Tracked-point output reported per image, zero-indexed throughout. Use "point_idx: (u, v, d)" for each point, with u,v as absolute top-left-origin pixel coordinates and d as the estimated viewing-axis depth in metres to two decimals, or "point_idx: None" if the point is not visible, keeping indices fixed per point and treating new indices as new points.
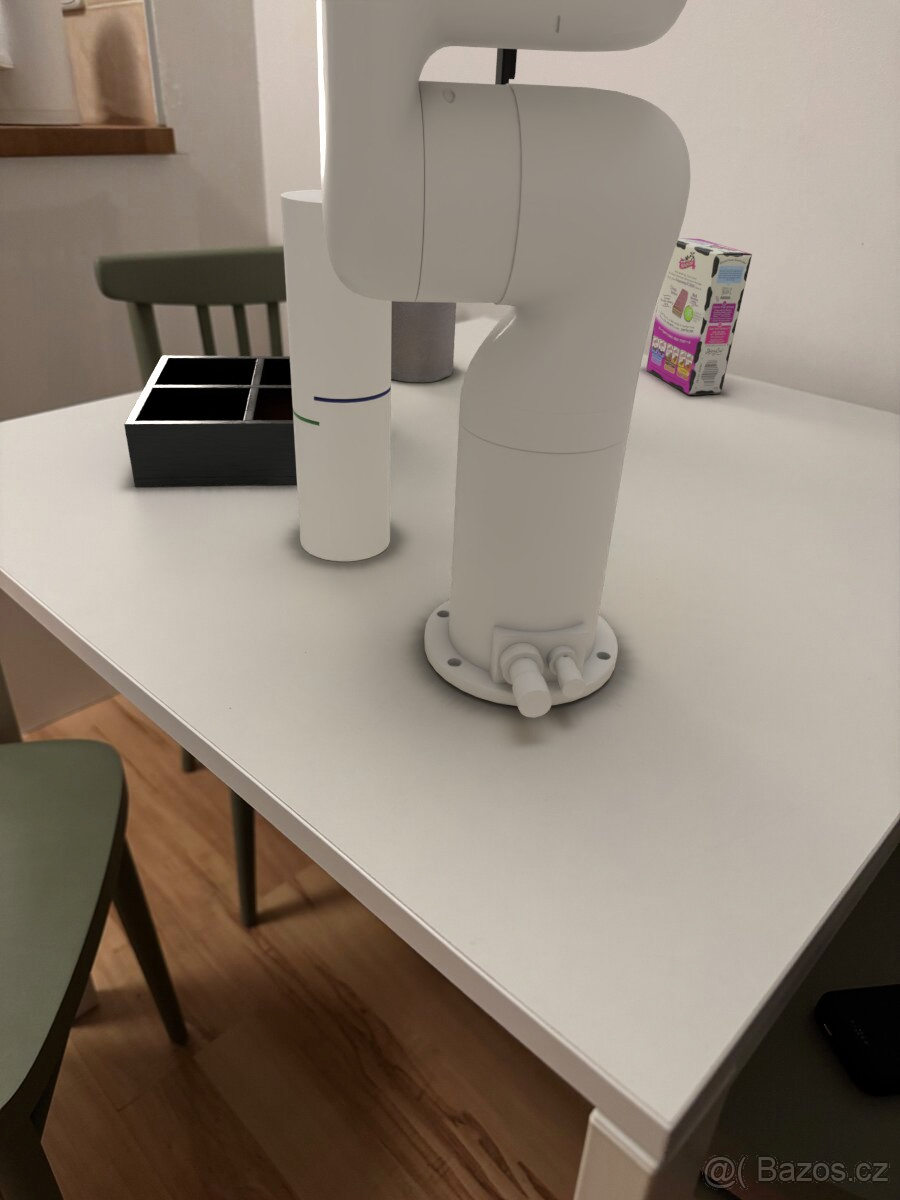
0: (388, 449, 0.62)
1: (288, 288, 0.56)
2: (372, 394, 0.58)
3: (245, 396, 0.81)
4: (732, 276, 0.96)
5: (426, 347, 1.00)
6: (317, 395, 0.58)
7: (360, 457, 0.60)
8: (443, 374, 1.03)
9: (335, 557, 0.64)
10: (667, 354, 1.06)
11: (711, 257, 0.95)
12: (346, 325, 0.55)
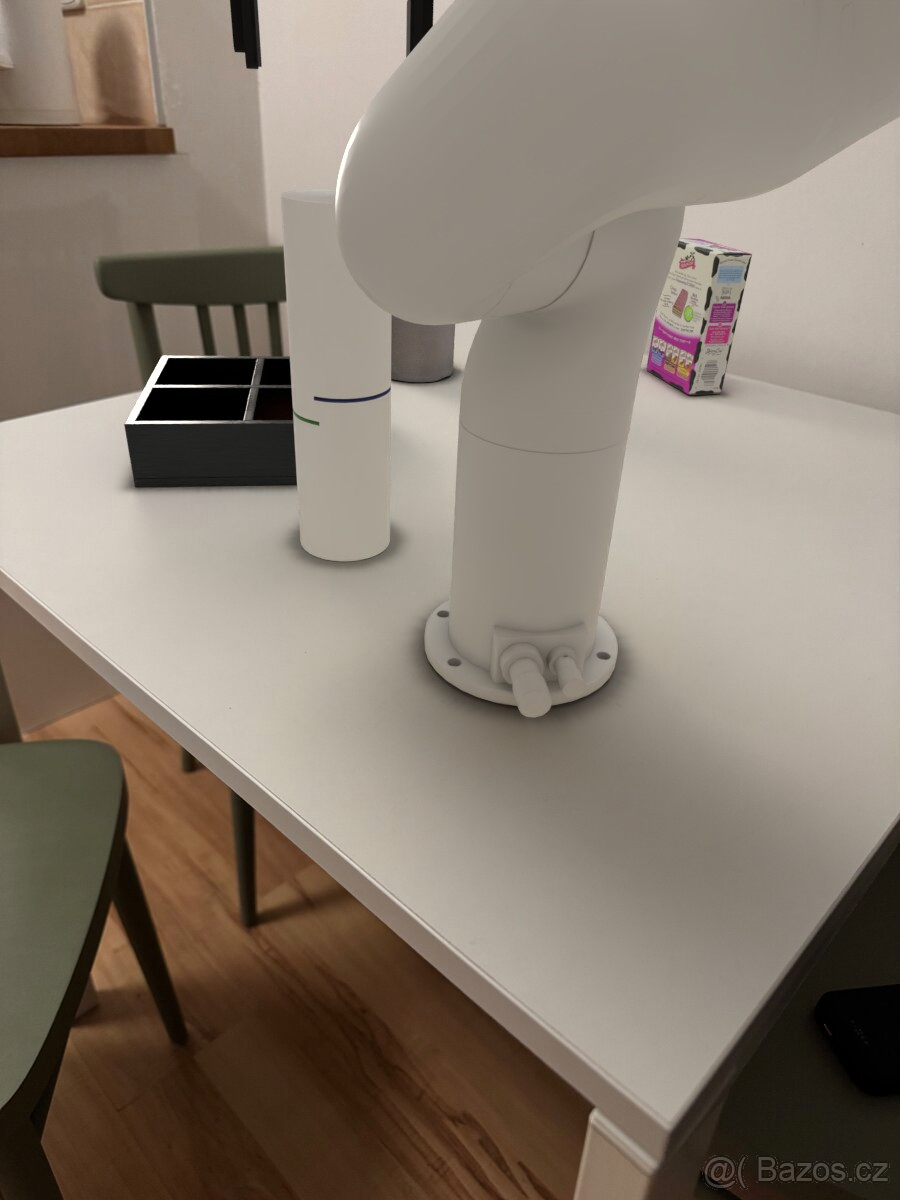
0: (388, 449, 0.62)
1: (288, 288, 0.56)
2: (372, 394, 0.58)
3: (245, 396, 0.81)
4: (732, 276, 0.96)
5: (426, 347, 1.00)
6: (317, 395, 0.58)
7: (360, 457, 0.60)
8: (443, 374, 1.03)
9: (335, 557, 0.64)
10: (667, 354, 1.06)
11: (711, 257, 0.95)
12: (346, 325, 0.55)
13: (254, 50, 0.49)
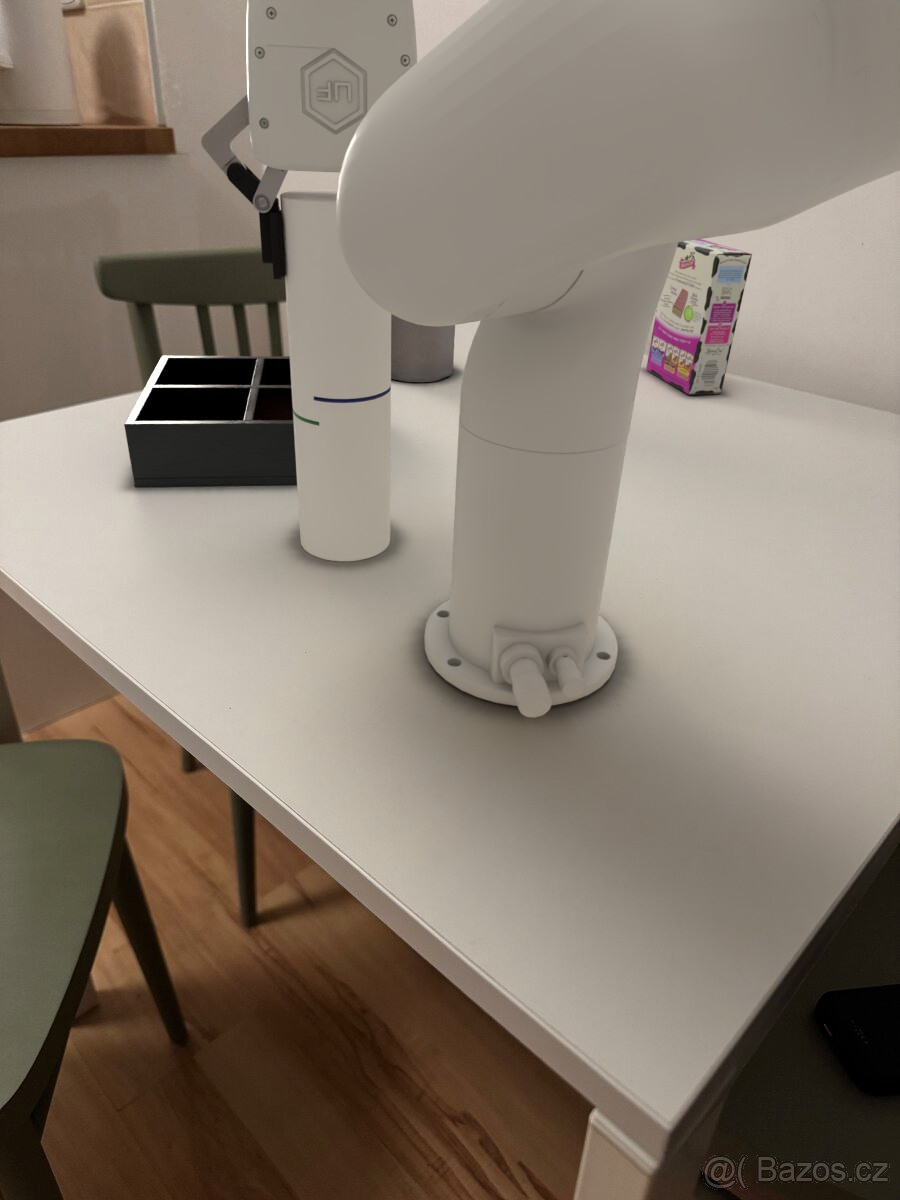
0: (388, 449, 0.62)
1: (288, 288, 0.56)
2: (372, 394, 0.58)
3: (245, 396, 0.81)
4: (732, 276, 0.96)
5: (426, 347, 1.00)
6: (317, 395, 0.58)
7: (360, 457, 0.60)
8: (443, 374, 1.03)
9: (335, 557, 0.64)
10: (667, 354, 1.06)
11: (711, 257, 0.95)
12: (345, 325, 0.55)
13: (281, 265, 0.54)
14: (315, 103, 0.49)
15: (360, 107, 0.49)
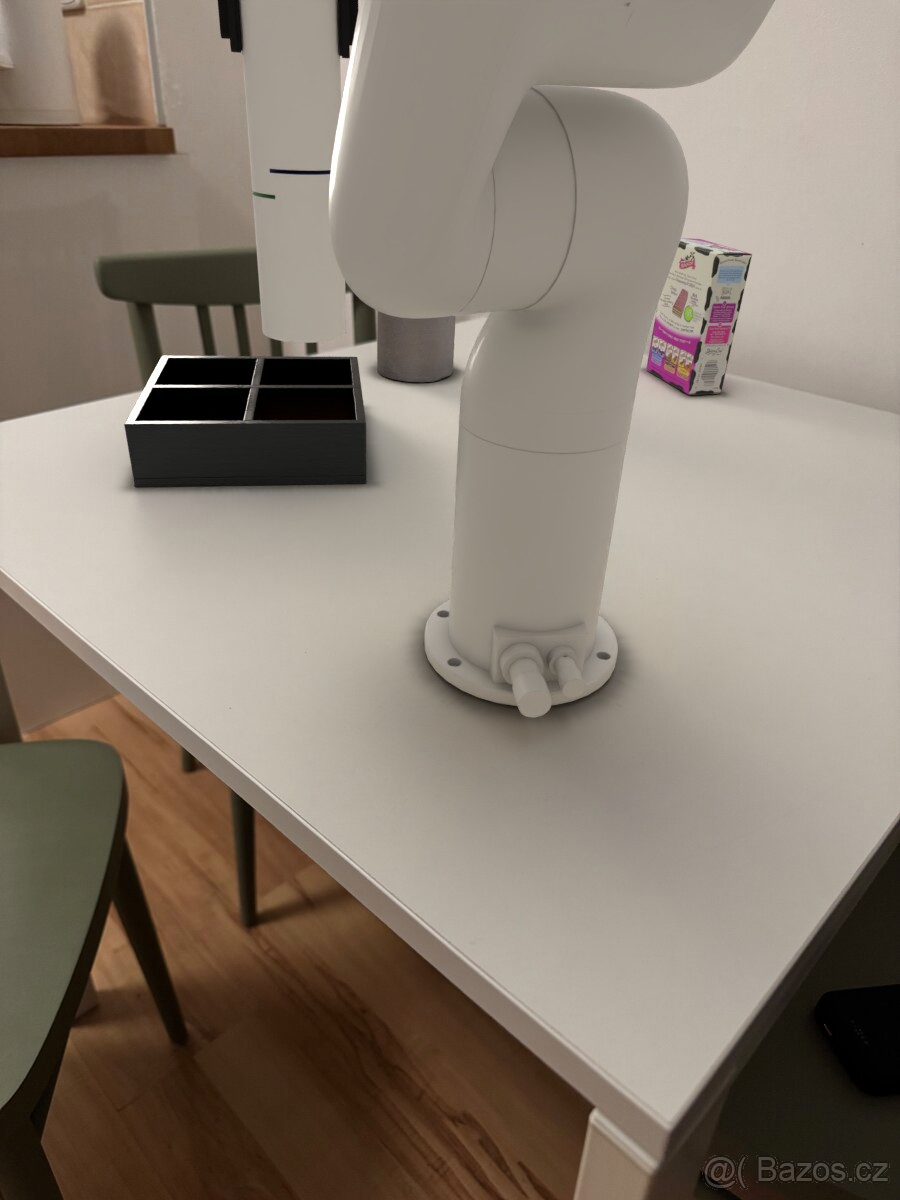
0: None
1: (244, 61, 0.61)
2: (323, 168, 0.63)
3: (245, 396, 0.81)
4: (732, 276, 0.96)
5: (426, 347, 1.00)
6: (272, 167, 0.63)
7: (314, 232, 0.65)
8: (443, 374, 1.03)
9: (293, 338, 0.69)
10: (667, 354, 1.06)
11: (711, 257, 0.95)
12: (296, 93, 0.60)
13: (237, 36, 0.60)
14: None
15: None
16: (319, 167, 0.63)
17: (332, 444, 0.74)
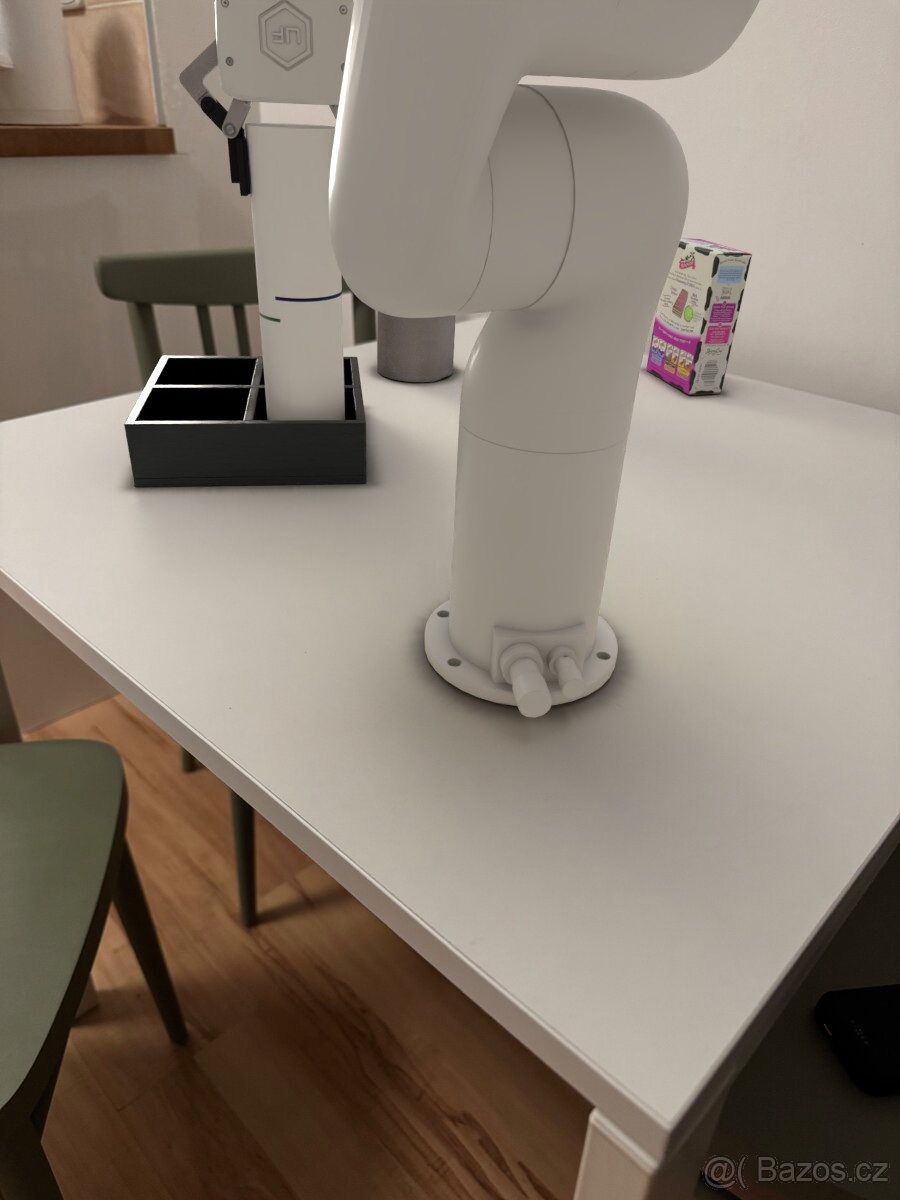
0: (340, 347, 0.74)
1: (252, 203, 0.67)
2: (324, 295, 0.70)
3: (245, 396, 0.81)
4: (732, 276, 0.96)
5: (426, 347, 1.00)
6: (278, 295, 0.69)
7: (315, 350, 0.72)
8: (443, 374, 1.03)
9: None
10: (667, 354, 1.06)
11: (711, 257, 0.95)
12: (300, 233, 0.66)
13: (246, 183, 0.66)
14: (271, 45, 0.60)
15: (307, 48, 0.61)
16: (320, 294, 0.70)
17: (332, 444, 0.74)
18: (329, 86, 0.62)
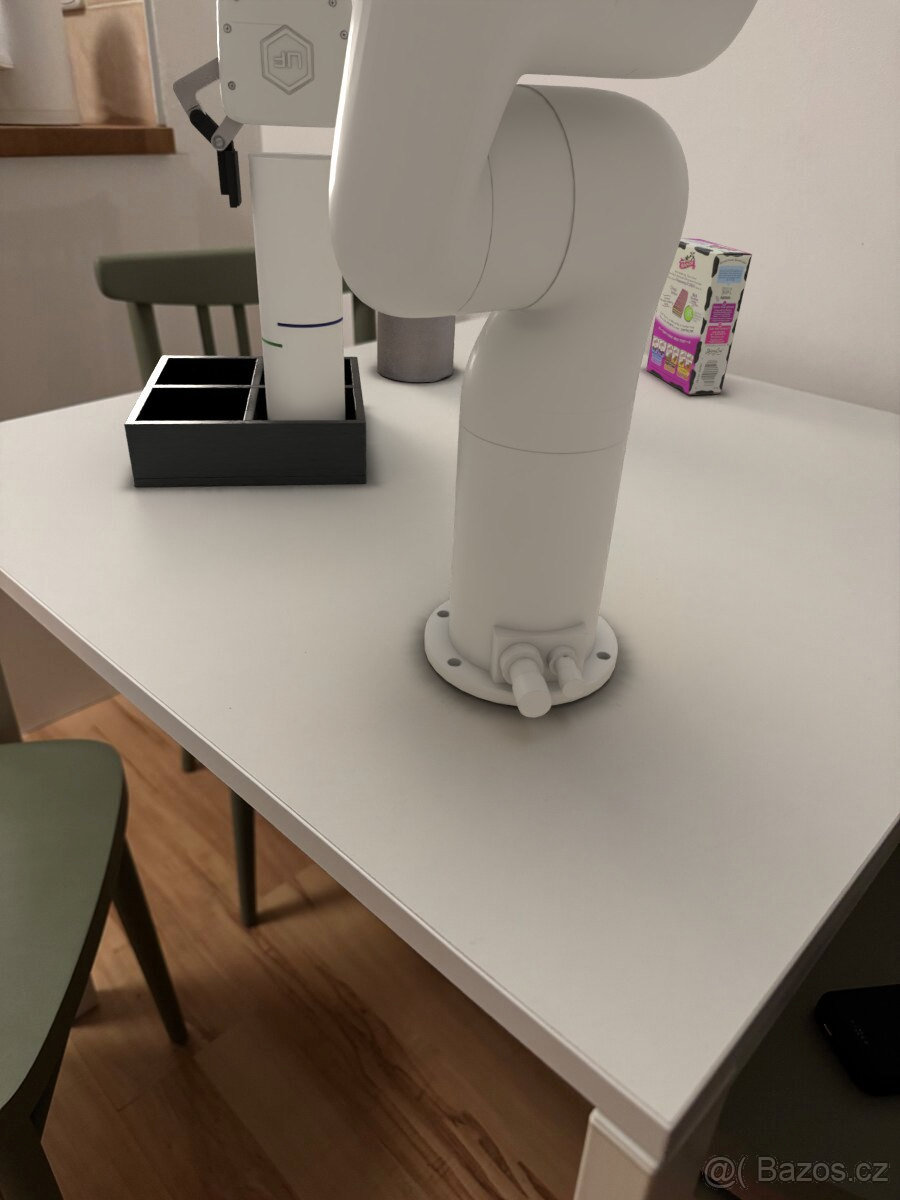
0: (341, 371, 0.75)
1: (255, 232, 0.68)
2: (325, 321, 0.71)
3: (245, 396, 0.81)
4: (732, 276, 0.96)
5: (426, 347, 1.00)
6: (280, 321, 0.70)
7: (317, 375, 0.73)
8: (443, 374, 1.03)
9: None
10: (667, 354, 1.06)
11: (711, 257, 0.95)
12: (302, 261, 0.67)
13: (236, 195, 0.66)
14: (272, 69, 0.61)
15: (308, 72, 0.62)
16: (322, 320, 0.71)
17: (332, 444, 0.74)
18: (330, 109, 0.63)
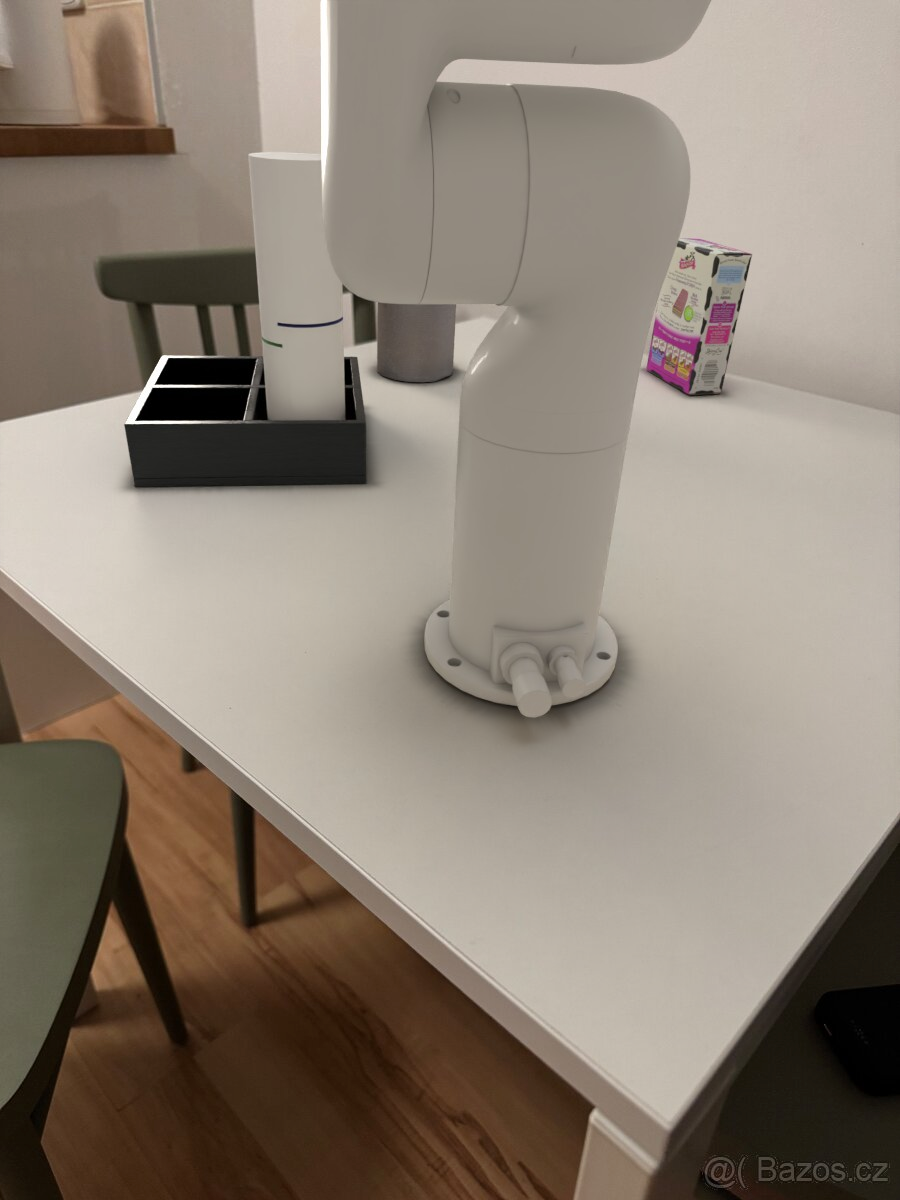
0: (341, 371, 0.75)
1: (255, 232, 0.68)
2: (326, 321, 0.71)
3: (245, 396, 0.81)
4: (732, 276, 0.96)
5: (426, 347, 1.00)
6: (280, 321, 0.70)
7: (317, 375, 0.73)
8: (443, 374, 1.03)
9: None
10: (667, 354, 1.06)
11: (711, 257, 0.95)
12: (302, 261, 0.68)
13: None
14: None
15: None
16: (322, 320, 0.71)
17: (332, 444, 0.74)
18: None
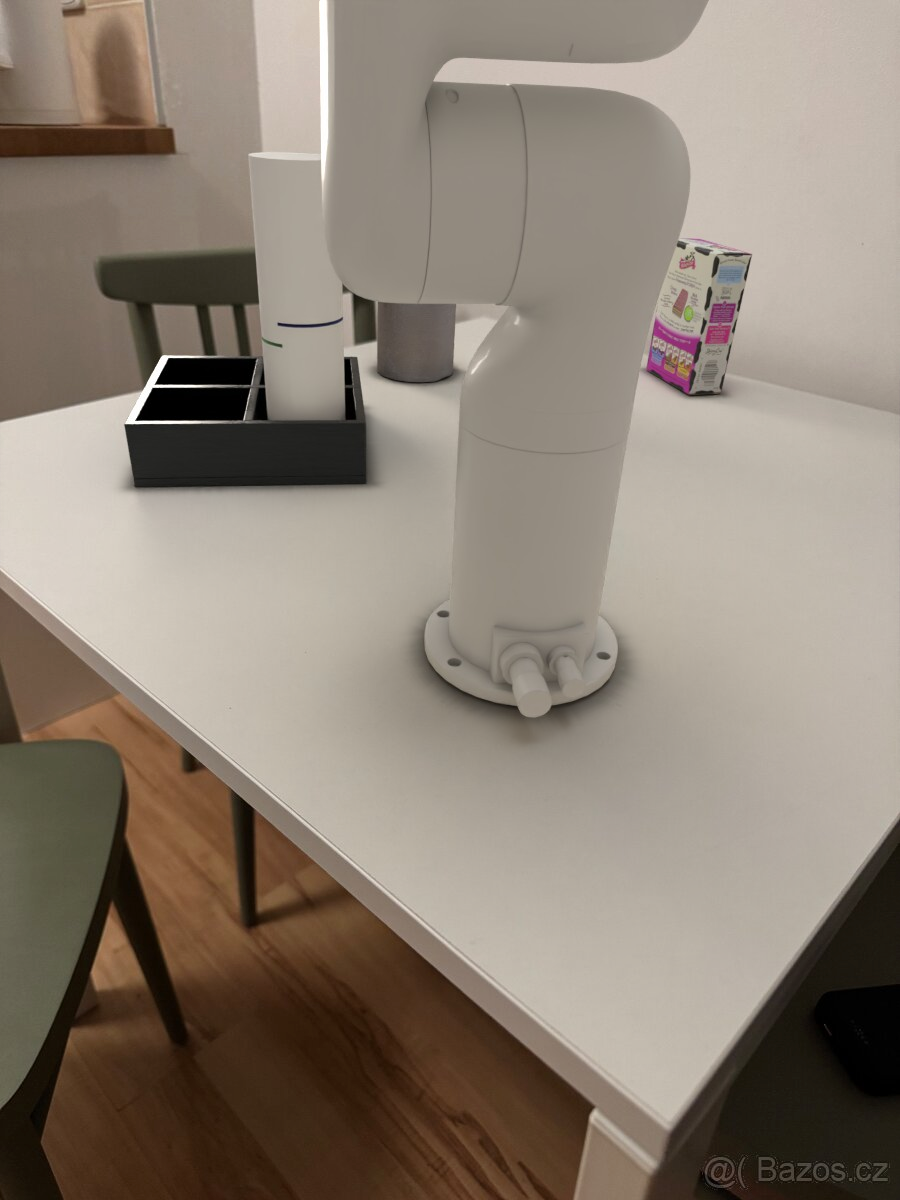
0: (341, 371, 0.75)
1: (255, 232, 0.68)
2: (326, 321, 0.71)
3: (245, 396, 0.81)
4: (732, 276, 0.96)
5: (426, 347, 1.00)
6: (280, 321, 0.70)
7: (317, 375, 0.73)
8: (443, 374, 1.03)
9: None
10: (667, 354, 1.06)
11: (711, 257, 0.95)
12: (302, 261, 0.68)
13: None
14: None
15: None
16: (322, 320, 0.71)
17: (332, 444, 0.74)
18: None
